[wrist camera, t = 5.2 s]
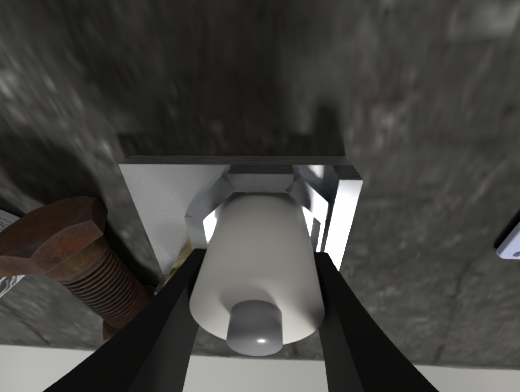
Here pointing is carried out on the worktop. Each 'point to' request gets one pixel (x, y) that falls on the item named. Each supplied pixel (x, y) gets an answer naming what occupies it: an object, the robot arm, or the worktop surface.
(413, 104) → the worktop surface
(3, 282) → the light bulb box
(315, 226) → the carrier
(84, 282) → the bolt
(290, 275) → the white knobbed cylinder
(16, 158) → the worktop surface
